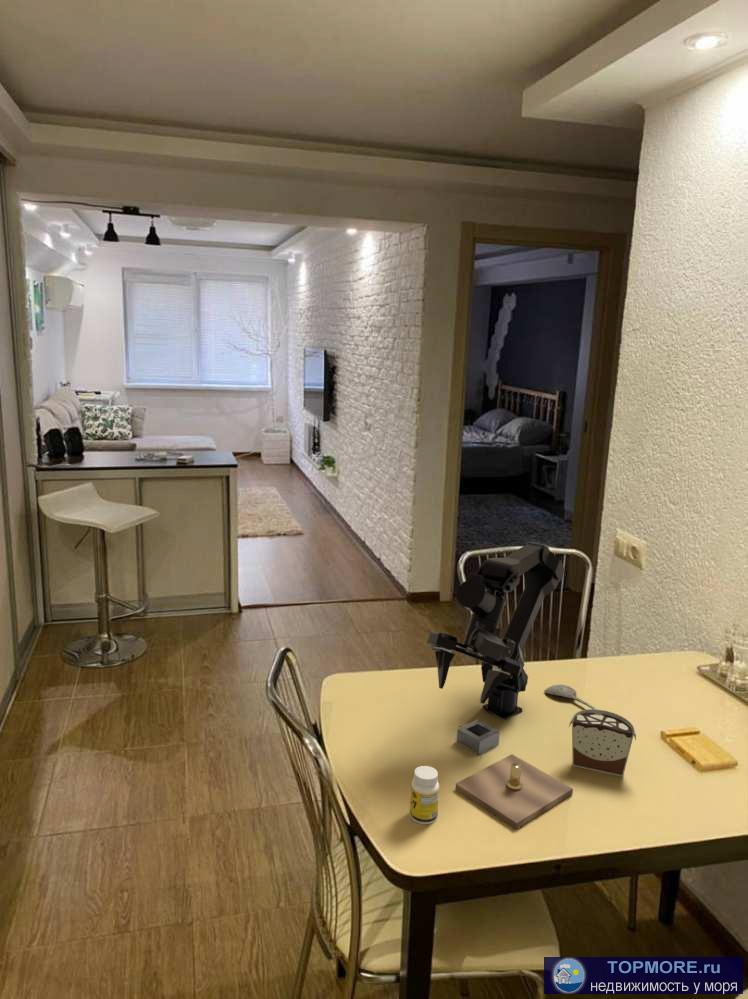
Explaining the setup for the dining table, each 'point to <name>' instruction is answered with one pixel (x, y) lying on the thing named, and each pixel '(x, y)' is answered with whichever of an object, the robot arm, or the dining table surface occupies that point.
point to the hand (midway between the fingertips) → (461, 696)
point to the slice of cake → (601, 741)
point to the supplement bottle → (424, 795)
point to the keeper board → (510, 804)
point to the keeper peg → (515, 777)
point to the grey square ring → (478, 737)
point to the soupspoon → (565, 693)
